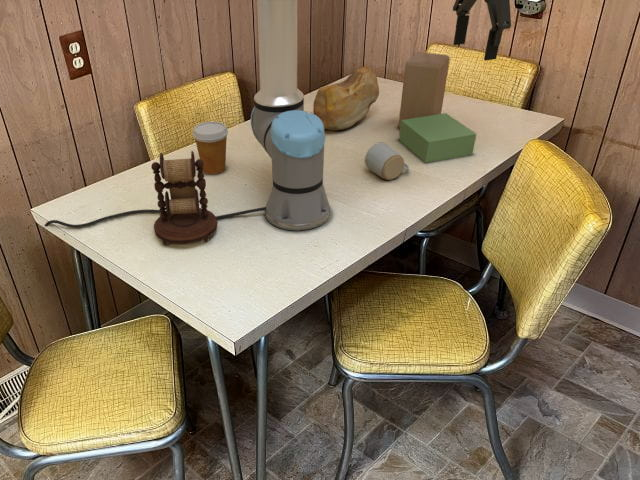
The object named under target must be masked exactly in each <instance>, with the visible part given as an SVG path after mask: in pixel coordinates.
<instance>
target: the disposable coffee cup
mask: <svg viewBox="0 0 640 480" xmlns="http://www.w3.org/2000/svg"><path fill="white" fill-rule="evenodd" d="M228 135H229V129H228V127H227V126H226V124H225V123H223V122H220V121H205V122H201V123H198V124H196V125H195V126H194V127H193V131H192V137H193V139H194V140H195V144H196V148H197V149H196V150H197V152H198V153H197V154H198V157H199V159H201V160H202V161H203V162H204V166H203V167H202V168H204V170H202V171H203V174H206V175H218V174H221V173H223V172H224V171H226V158H227V157H226V156H227V140H228V139H227V137H228Z"/></svg>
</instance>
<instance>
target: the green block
mask: <svg viewBox="0 0 640 480" xmlns="http://www.w3.org/2000/svg"><path fill="white" fill-rule="evenodd" d="M476 137H477V133H476V132H475V131H473V130H471V129H470V128H468V127H467V126H465V124H463V123H462V122H460V121H458V120H457V119H455V118H454V117H453V116H451V115H449V114H448V113H447V112H444V113H441V114H437V115H431V116H425V117H418V118H412V119H406V120H401V126H400V128H399V135H398V141H399V142H400V143H401V144H402V145H404V146H405V147H406V148H408V149H409V150H410V151H411V152H412V153H413V154H414V155H415V156H417V157H418V158H419V159H420V160H422V162H424V163H425V164H427V163H433V162H438V161H444V160H450V159H455V158H462V157H468V156H473V154H474V147H475V145H476V139H477V138H476Z"/></svg>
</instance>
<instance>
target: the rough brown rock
mask: <svg viewBox="0 0 640 480" xmlns="http://www.w3.org/2000/svg"><path fill="white" fill-rule="evenodd" d="M379 86H380V85H379V83H378V77H377V75H376V73H375V72H374V71H373V70H372V67H370V66H369V65H364V66H362V67H361V68H359V69H357V70H354V71H353V72H352V73H351V74H350V75H348V77H347V78H346V79H344V80H342V81H340V82H337V83H332V84H329V85H325V86H321V87H319V88H318V89H317V92H316V94H315V97H314V101H313V105H312V106H313V107H312V111H313V114H314V115H316V116H317V117H319V118H320V119H321V121H322V122H323V125H324V130H329V131H333V132H334V131H341V130H346V129H350V128H351V127H353V126H354V125H355V124H356V123H358V122H359V121H361V120H363V118H365V117H366V115H368V113H369V112H370V108H371V106H372V105H373V104H374V103H376V101H377V100H378V98H379V96H380V87H379Z"/></svg>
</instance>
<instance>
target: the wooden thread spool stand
mask: <svg viewBox="0 0 640 480" xmlns="http://www.w3.org/2000/svg"><path fill="white" fill-rule="evenodd" d="M203 166H204V162H203V161H202V160H201V159H200V158H198V159H196V157H195V152H194V150H191V152H190V157H189V158H178V159H177V158H176V159H165V158H164V154H163V152H160V154H159V162H158V161H154V162H152V164H151V166H150V168H151V170H152V173H153V174H154V177H153V180H154V183H153V184H154V185H153V186H154V190H155V192H156V193H157V197H156V198H157V200H158V201H157V207H158V208H159V209H158V210H160V211H161V213H159V217H158V218H156V220H155V222H154V224H153V231H154V235H155V237H156V238H157V239H159V240H160V241H161V242H162V244H163V245H164V246H166V245H167V244H171V245H177V246H178V245H179V246H180V245H181V246H182V245H191V244H197V243H200V242H202V241H204V243H208V241H209V238H210V237H212V235H213V234H215V232H216V231H217V229H218V219H217V218H216V216H217V215H215V213H213V212H212V211H210V210H208V207H209V206H208V203H209V200H208V198H207V193H206V187H207V182H206V181H207V180H206V178H205V173H204V172H203V170H204V168H202V167H203ZM196 171H197V172H196ZM196 174H197V175H196ZM196 176H197V180H196V181H195V177H196ZM162 179H163V180H164V181H165V183H164V182H163V181H162ZM196 187H197V188H198V189H197V188H196ZM165 189H166V191H165V193H164V194H163V192H164V190H165ZM168 190H169V191H168ZM198 190H199V192H198ZM199 197H200V198H199ZM165 211H166V212H165Z"/></svg>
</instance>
